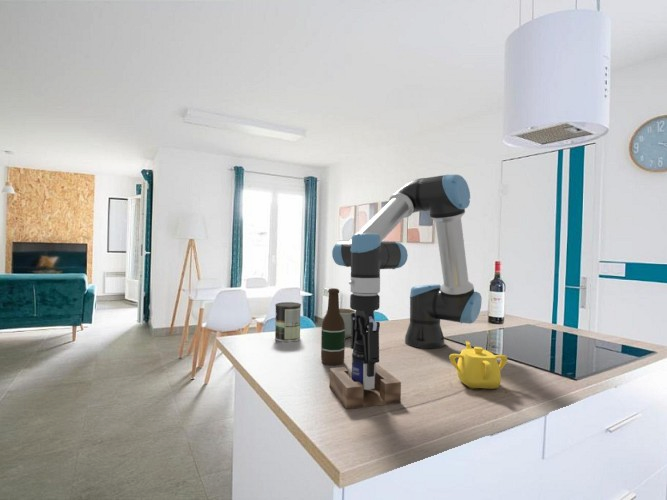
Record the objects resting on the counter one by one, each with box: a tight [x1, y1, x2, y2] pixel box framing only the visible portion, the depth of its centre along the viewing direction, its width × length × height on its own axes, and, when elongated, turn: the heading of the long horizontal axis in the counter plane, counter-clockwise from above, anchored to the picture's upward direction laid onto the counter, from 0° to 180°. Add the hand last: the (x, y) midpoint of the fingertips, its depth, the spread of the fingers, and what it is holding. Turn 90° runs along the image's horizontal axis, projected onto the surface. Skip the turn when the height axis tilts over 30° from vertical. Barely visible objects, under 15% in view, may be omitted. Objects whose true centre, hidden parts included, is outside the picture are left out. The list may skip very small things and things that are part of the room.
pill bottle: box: [351, 340, 377, 386], centre depth 94 cm, size 6×6×11 cm
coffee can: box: [274, 301, 302, 343], centre depth 148 cm, size 10×10×14 cm
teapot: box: [448, 340, 508, 390], centre depth 103 cm, size 14×13×10 cm
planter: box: [325, 307, 356, 339], centre depth 153 cm, size 12×12×11 cm
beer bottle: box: [320, 288, 346, 366], centre depth 120 cm, size 8×8×24 cm
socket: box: [329, 363, 402, 410], centre depth 94 cm, size 14×14×5 cm
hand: (363, 383), depth 94 cm, fingers closed on pill bottle, 6 cm apart
